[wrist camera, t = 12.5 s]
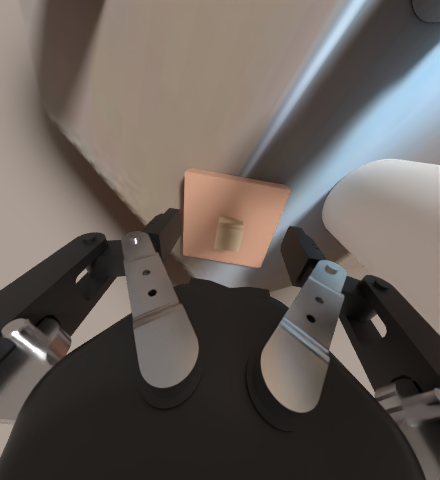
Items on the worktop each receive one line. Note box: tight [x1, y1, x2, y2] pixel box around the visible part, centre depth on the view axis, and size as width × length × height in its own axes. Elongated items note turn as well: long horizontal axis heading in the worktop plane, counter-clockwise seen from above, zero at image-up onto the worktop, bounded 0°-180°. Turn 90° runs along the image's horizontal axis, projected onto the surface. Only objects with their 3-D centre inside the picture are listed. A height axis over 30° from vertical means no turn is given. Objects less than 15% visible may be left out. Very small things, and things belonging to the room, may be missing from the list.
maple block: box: [214, 216, 244, 252], centre depth 32 cm, size 5×5×5 cm
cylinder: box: [322, 159, 440, 335], centre depth 22 cm, size 17×17×28 cm
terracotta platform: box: [183, 168, 291, 268], centre depth 36 cm, size 20×20×4 cm
